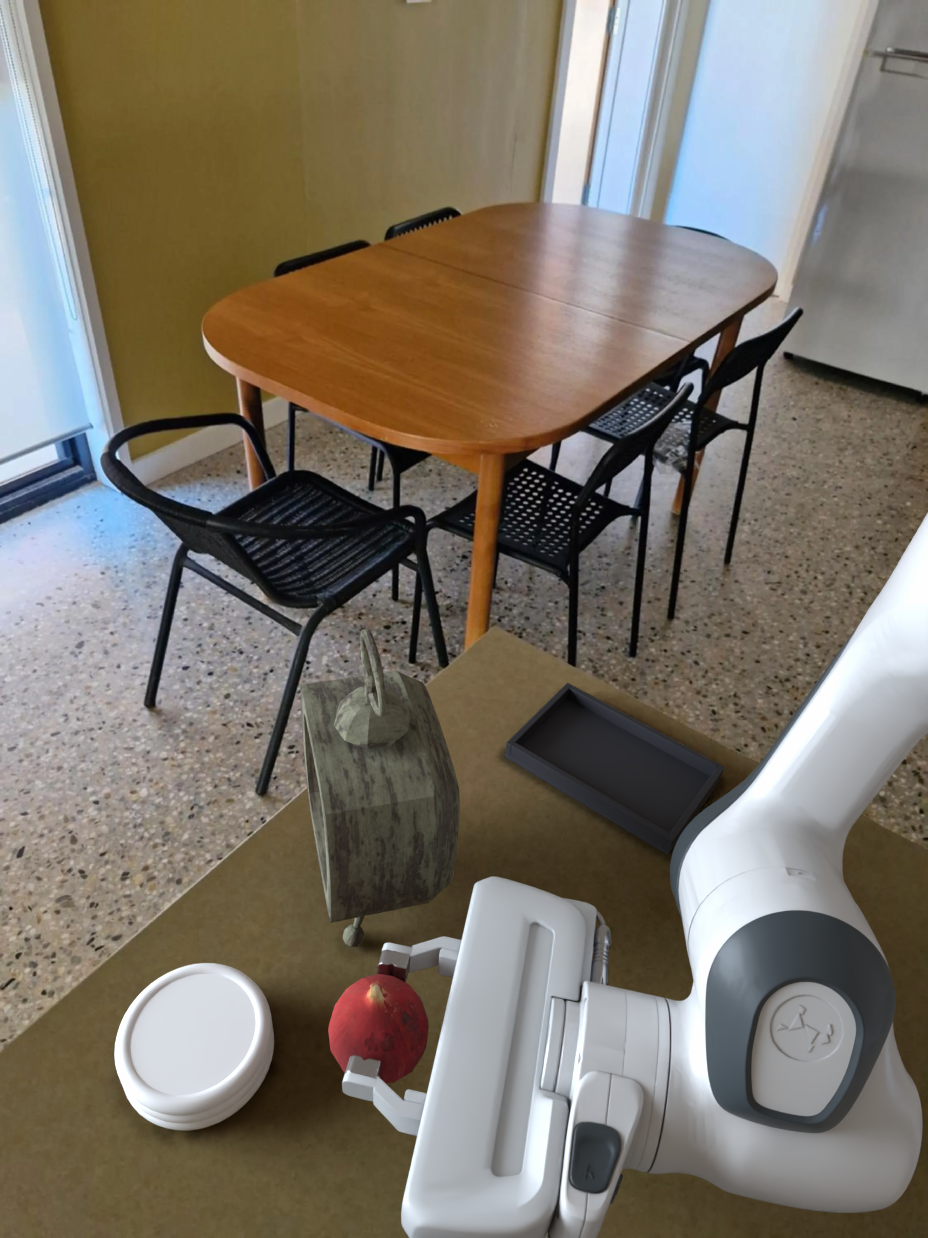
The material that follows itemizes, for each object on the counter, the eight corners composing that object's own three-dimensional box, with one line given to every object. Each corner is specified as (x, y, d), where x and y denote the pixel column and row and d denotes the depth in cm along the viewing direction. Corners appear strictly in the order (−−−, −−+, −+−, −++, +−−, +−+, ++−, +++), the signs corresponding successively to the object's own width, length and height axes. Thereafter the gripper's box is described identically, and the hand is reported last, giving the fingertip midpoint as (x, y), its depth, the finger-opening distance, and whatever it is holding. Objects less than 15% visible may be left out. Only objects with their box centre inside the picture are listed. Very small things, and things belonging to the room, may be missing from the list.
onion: (443, 1043, 55) (449, 976, 50) (392, 1128, 51) (393, 1064, 46) (366, 996, 58) (365, 927, 52) (312, 1074, 54) (304, 1007, 48)
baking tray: (720, 781, 83) (725, 766, 82) (667, 855, 76) (672, 841, 75) (564, 696, 90) (567, 682, 89) (504, 757, 83) (506, 742, 82)
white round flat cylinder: (304, 1039, 62) (302, 1014, 60) (195, 1168, 55) (188, 1146, 53) (203, 960, 66) (197, 933, 64) (90, 1071, 59) (79, 1047, 57)
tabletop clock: (308, 816, 77) (292, 586, 61) (410, 799, 79) (421, 572, 63) (334, 970, 66) (324, 738, 50) (451, 945, 68) (477, 715, 52)
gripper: (622, 881, 56) (409, 837, 57) (595, 1260, 40) (302, 1184, 42) (606, 937, 60) (407, 894, 61) (575, 1301, 44) (308, 1231, 46)
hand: (363, 1014), depth 51 cm, fingers closed on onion, 5 cm apart
